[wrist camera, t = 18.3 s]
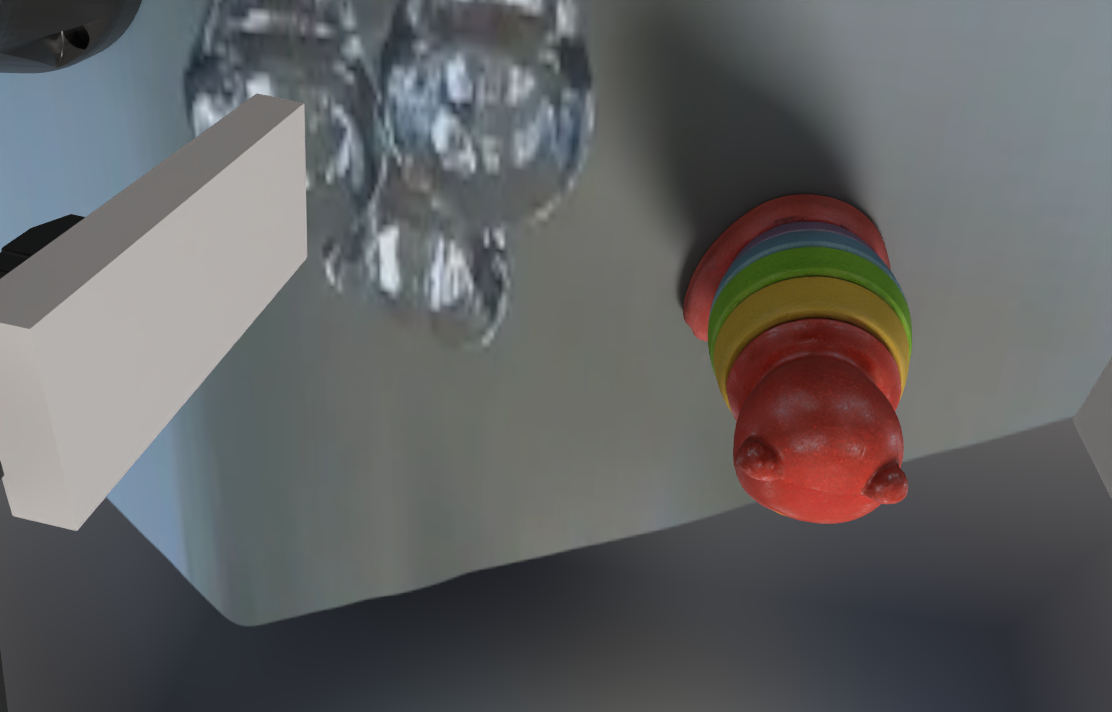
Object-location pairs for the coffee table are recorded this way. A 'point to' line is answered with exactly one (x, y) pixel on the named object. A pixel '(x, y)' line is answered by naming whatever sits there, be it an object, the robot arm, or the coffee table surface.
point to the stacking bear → (807, 355)
